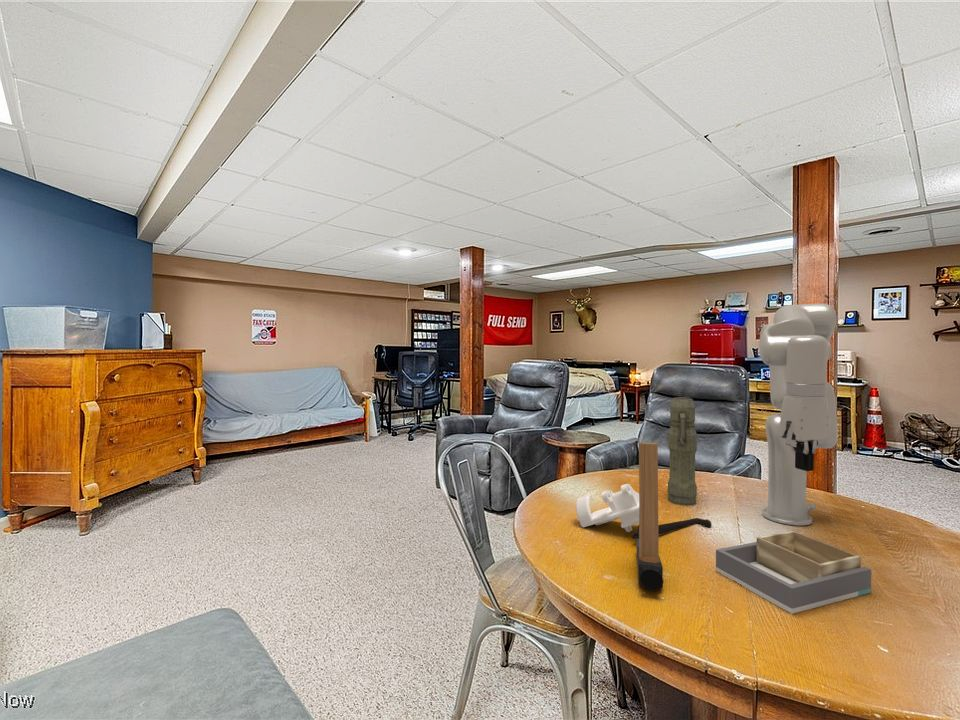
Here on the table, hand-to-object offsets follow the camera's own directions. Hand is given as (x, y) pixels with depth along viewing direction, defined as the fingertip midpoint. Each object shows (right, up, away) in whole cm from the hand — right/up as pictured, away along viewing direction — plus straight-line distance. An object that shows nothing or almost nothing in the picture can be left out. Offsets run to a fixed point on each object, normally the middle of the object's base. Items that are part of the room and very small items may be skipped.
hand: (804, 469), depth 105 cm
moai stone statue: (-7, -23, +48) cm, 53 cm away
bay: (-7, -24, -5) cm, 25 cm away
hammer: (-37, -24, -1) cm, 44 cm away
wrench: (-22, -24, +20) cm, 38 cm away
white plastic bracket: (-37, -23, +25) cm, 50 cm away
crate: (-2, -22, -3) cm, 23 cm away
